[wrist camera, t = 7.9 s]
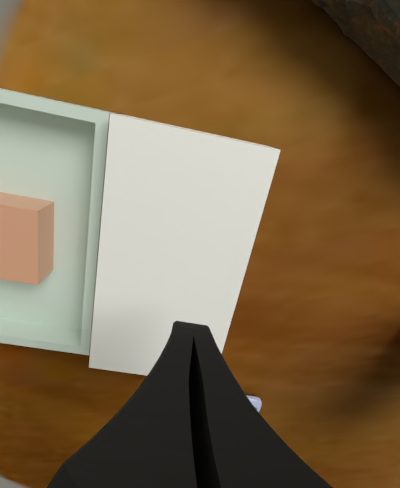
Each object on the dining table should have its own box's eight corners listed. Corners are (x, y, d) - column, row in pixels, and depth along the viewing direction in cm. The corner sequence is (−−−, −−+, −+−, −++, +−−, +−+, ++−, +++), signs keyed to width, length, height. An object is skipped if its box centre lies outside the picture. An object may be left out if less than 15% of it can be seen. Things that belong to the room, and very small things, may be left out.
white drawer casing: (210, 352, 22) (212, 384, 20) (102, 336, 22) (88, 367, 19) (266, 145, 17) (280, 149, 14) (124, 114, 16) (110, 113, 13)
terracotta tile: (-44, 272, 17) (-21, 257, 19) (38, 285, 17) (53, 269, 19) (-54, 194, 15) (-27, 187, 17) (37, 210, 16) (54, 201, 18)
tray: (98, 335, 22) (83, 366, 19) (-34, 316, 21) (-68, 346, 18) (118, 113, 16) (103, 111, 13) (-58, 75, 15) (-113, 64, 13)
